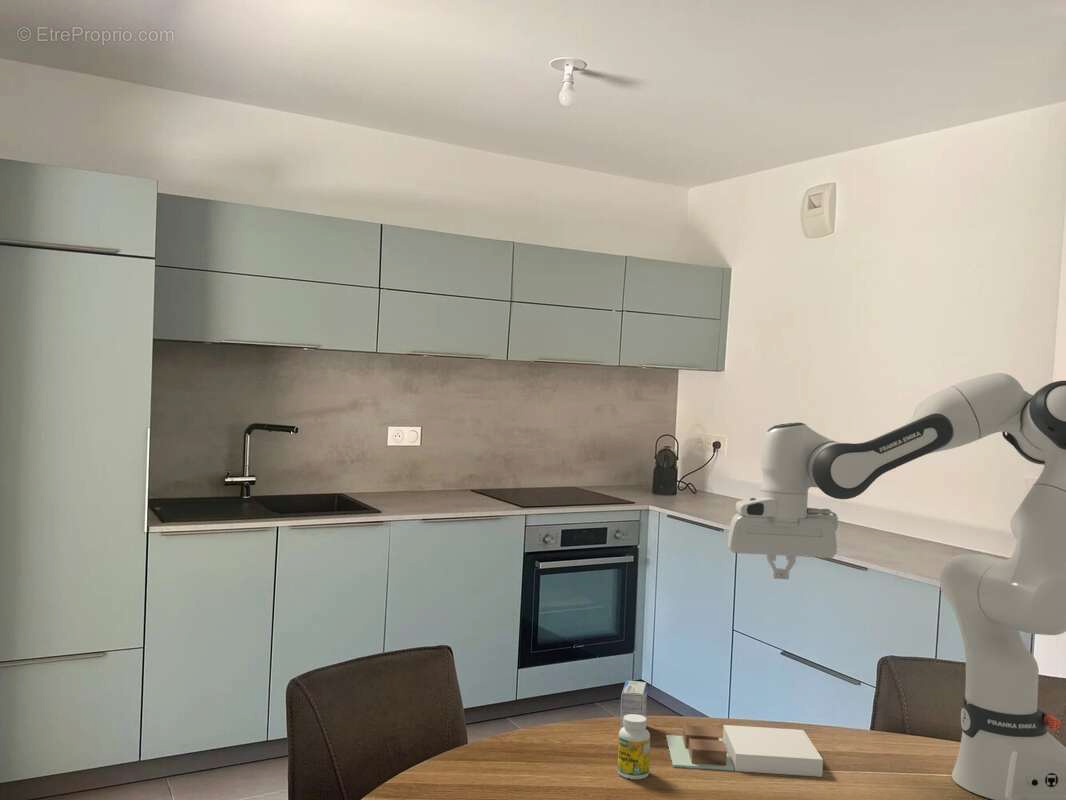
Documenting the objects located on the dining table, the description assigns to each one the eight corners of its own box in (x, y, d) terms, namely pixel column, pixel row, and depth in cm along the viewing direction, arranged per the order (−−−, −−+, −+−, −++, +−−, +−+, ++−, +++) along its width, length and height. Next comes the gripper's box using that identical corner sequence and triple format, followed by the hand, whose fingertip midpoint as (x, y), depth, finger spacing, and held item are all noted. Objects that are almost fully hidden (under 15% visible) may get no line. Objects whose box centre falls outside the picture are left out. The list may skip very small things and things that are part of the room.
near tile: (721, 754, 161) (722, 740, 161) (726, 765, 156) (726, 751, 156) (688, 752, 162) (689, 738, 162) (691, 763, 157) (692, 749, 157)
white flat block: (802, 745, 168) (803, 730, 168) (822, 776, 154) (823, 759, 154) (722, 740, 169) (723, 724, 169) (735, 770, 155) (735, 753, 155)
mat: (721, 740, 169) (721, 738, 169) (733, 770, 155) (734, 768, 155) (665, 737, 170) (666, 734, 170) (672, 766, 156) (673, 764, 156)
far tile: (714, 740, 168) (715, 727, 168) (718, 750, 163) (718, 736, 163) (682, 738, 169) (683, 725, 169) (685, 748, 164) (685, 734, 164)
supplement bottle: (653, 772, 153) (656, 717, 153) (640, 783, 149) (642, 726, 149) (626, 764, 156) (628, 710, 156) (611, 774, 152) (614, 718, 152)
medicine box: (642, 740, 168) (644, 694, 168) (619, 737, 169) (621, 692, 169) (645, 725, 176) (647, 681, 176) (623, 723, 177) (625, 679, 177)
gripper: (833, 507, 173) (830, 578, 173) (727, 502, 174) (724, 572, 174) (843, 511, 167) (840, 584, 167) (733, 505, 168) (730, 578, 168)
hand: (780, 578), depth 171 cm, fingers closed
